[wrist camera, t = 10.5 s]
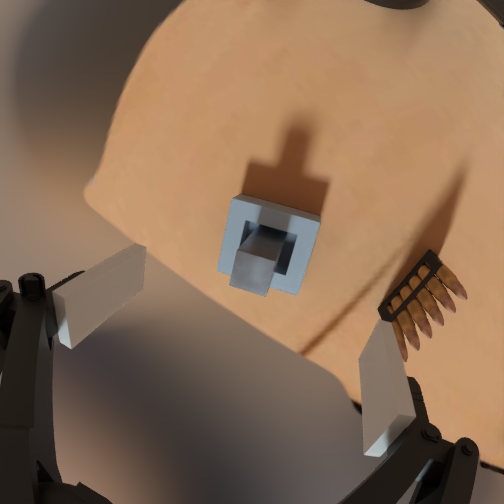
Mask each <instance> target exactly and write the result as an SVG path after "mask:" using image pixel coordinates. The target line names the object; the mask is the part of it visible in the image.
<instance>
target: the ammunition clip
mask: <svg viewBox="0 0 504 504" xmlns="http://www.w3.org/2000/svg"><path fill="white" fill-rule="evenodd" d="M434 274H435V275H436V276H437V277H438V278H439V279H438V278H437V277H436V276H435V275H434ZM442 283H443V284H444V285H445V286H446V287H447V288H449V289H450V290H451V291H452V292H453V293H454V294H455V295H456V296H458V297H459V298H461V299H463V300H467V293H466V291H465V289H464V287H463V286H462V285H461V284H460V282H459V281H458V279H457V277H456V276H455V275H454V274H453V272H452V271H451V270H450V269H449V268H448V267H447V266H446V265H445V264H444V263H443V262H442V261H441V260H440V259H439V257H438V256H437V255H435V254H434V253H433V252H432V251H431V250H428V251H427V252H426V254H425V255H424V256H423V257H422V259H421V260H420V261H419V262H418V264H417V265H416V266H415V267H414V268H413V270H412V271H411V272H410V273H409V274H408V275H407V277H406V278H405V279H404V280H403V281H402V282H401V283H400V285H399V286H398V287H397V288H396V289H395V290H394V291H393V293H392V294H391V295H390V296H389V297H388V298H387V299H386V300H385V301H384V302H383V303H382V305H381V306H380V307H379V308H378V312H379V314H380V317H381V319H382V320H383V321H387V322H391V323H392V326H393V330H394V333H395V336H396V340H397V343H398V346H399V350H400V353H401V357H402V361H403V362H407V359H408V352H407V348H406V344H405V338H404V334H405V335H406V337H407V339H408V341H409V343H410V345H411V346H412V347H413V348H414V349H415V350H417V351H419V349H420V341H419V337H418V335H417V331H416V328H415V323H417V325H418V327H419V328H420V330H421V331H422V333H423V334H424V335H425V336H426V337H427V338H429V339H431V338H432V330H431V326H430V324H429V322H428V319H427V317H426V313H425V311H427V312H428V313H429V315H430V316H431V317H432V319H433V320H434V321H435V322H436V323H437V324H438V325H440V326H443V325H444V319H443V315H442V313H441V311H440V310H439V307H438V306H437V302H436V300H435V299H434V297H435V298H436V299H437V300H438V301H439V302H440V303H441V304H442V305H443V306H444V307H445V308H446V309H447V310H448V311H449V312H451V313H455V312H456V308H455V304H454V302H453V300H452V299H451V297H450V295H449V294H448V292H447V290H446V288H445V287H444V285H443V284H442ZM425 285H426V286H427V287H426V286H425ZM427 288H428V289H429V290H428V289H427ZM432 295H433V296H434V297H433V296H432ZM416 296H417V297H416ZM417 298H418V299H417ZM419 301H420V302H419ZM422 306H423V307H422ZM407 308H408V309H407ZM423 308H424V309H425V311H424V309H423ZM408 310H409V311H408ZM412 318H413V319H412ZM413 320H414V321H415V323H414V321H413ZM403 333H404V334H403Z"/></svg>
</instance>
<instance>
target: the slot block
mask: <svg viewBox="0 0 504 504" xmlns="http://www.w3.org/2000/svg"><path fill="white" fill-rule="evenodd" d="M259 224H261V225H265V226H268V227H272V228H275V229H279V230H282V231H286V232H288V234H287V238H286V241H285V245H284V248H283V252H282V255H281V259H280V261H279V264H278V266H277V269H276V272H275V274H274V277H273V279H272V282H271V284H270V288H274V289H277V290H280V291H284V292H287V293H290V294H294V295H297V296H298V293H299V290H300V287H301V284H302V281H303V278H304V274H305V271H306V268H307V265H308V262H309V259H310V256H311V252H312V249H313V246H314V243H315V239H316V236H317V233H318V229H319V226H320V216H319V215H315V214H312V213H308V212H305V211H302V210H298V209H295V208H291V207H288V206H284V205H280V204H277V203H273V202H269V201H266V200H262V199H258V198H255V197H251V196H247V195H243V194H240V195H238V196H236V197H234V198H232V201H231V206H230V210H229V215H228V220H227V224H226V229H225V234H224V239H223V243H222V248H221V253H220V258H219V263H218V268H217V271H218V272H221V273H225V274H228V275H231V274H232V269H233V265H234V260H235V256H236V251H237V249H238V248H239V247H240V246H241V245H242V244H243V242H244V241H245V240H246V239H247V238H248V237H249V236H250V234H251V233H252V232H253V231H254V230H255V229H256V228H257V227H258V225H259Z"/></svg>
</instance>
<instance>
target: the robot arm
mask: <svg viewBox="0 0 504 504" xmlns="http://www.w3.org/2000/svg"><path fill="white" fill-rule="evenodd" d="M365 1H368V2H370V3H373V4H375V5H379V6H382V7H386V8H392V9H413V8H417V7H420V6H422V5H424V4H425V3H427V2H428V1H429V0H365ZM477 1H478V2H479V3H480V4H481V5H482V6H483V7H484V8H485V9H486V10H487V11H488V12H489V13H490V14H491V15H492V16H493V17H494V18H495V19H496V20H497V21H498V22H499V25H500V26H501V27H502V28H503V29H504V0H477ZM145 257H146V247H145V246H142V245H139V244H136V243H135V244H133V245H131V246H129V247H128V248H126V249H124V250H122V251H120V252H119V253H117V254H115V255H113V256H111V257H110V258H108V259H106V260H104V261H103V262H101V263H99V264H97V265H96V266H94V267H92V268H90V269H89V270H87V271H80V272H76V273H74V274H72V275H70V276H68V278H65V279H63V280H62V281H60V282H58V283H57V284H55V285H53V286H51V287H50V288H48V289H45V280H44V277H43V276H42V275H41V274H39V273H27V274H24V275H22V276H21V277H20V278H19V279H18V283H19V289H20V293H16V292H13V288H12V284H11V282H9V281H7V280H0V375H1V373H2V378H1V384H0V504H112V503H111V502H110V501H109V500H108V499H107V498H105V497H103V496H102V495H100V494H98V493H97V492H95V491H93V490H92V489H90V488H88V487H87V486H85V485H83V484H82V483H81V482H79V483H78V484H77V486H74V485H70V484H66V483H63V482H62V479H61V476H60V473H59V470H58V466H57V461H56V452H55V442H54V428H53V402H52V379H53V353H54V338H53V336H54V335H55V334H56V333H59V339H60V342H61V343H63V344H64V345H66V346H67V347H69V348H70V349H72V348H73V347H75V346H76V345H77V344H78V343H79V342H80V341H81V340H83V339H84V338H85V337H86V336H87V335H89V334H90V333H91V332H92V331H93V330H94V329H96V328H97V327H98V326H99V325H100V324H102V323H103V322H104V321H105V320H106V319H108V318H109V317H110V316H111V315H112V314H113V313H115V312H116V311H117V310H118V309H120V308H121V307H122V306H123V305H124V304H126V303H127V302H128V301H129V300H130V299H132V298H133V297H134V296H135V295H136V294H138V293H139V292H140V291H141V290H143V283H144V269H145ZM2 370H3V372H2ZM359 370H360V383H361V397H362V416H363V446H364V455H369V456H377V457H380V456H381V455H382V454H383V453H384V452H385V451H386V450H387V451H388V457H387V458H386V459H385V460H384V461H383V462H382V463H381V464H380V465H379V466H378V467H377V468H376V469H375V470H374V471H373V472H372V473H371V474H370V475H369V476H368V477H367V478H366V479H365V480H364V481H363V482H362V483H361V484H360V485H358V486H357V487H356V488H355V489H354V490H353V491H352V492H351V493H349V494H348V495H347V496H346V497H345V498H344V499H342V500H341V501H340V502H339V503H338V504H396V503H397V501H398V500H399V499H400V498H401V497H402V496H403V494H404V493H405V492H406V491H407V489H408V488H409V487H410V486H411V484H412V483H413V482H414V481H415V480H416V481H418V483H417V485H416V488H415V490H414V493H413V495H412V497H411V500H410V502H409V504H469V503H470V499H471V495H472V490H473V485H474V480H475V475H476V470H477V464H478V457H479V449H478V447H477V445H476V443H475V442H474V441H473V440H471V439H470V438H466V437H464V438H460V439H459V440H458V441H457V442H456V443H455V444H454V443H451V442H449V441H446V440H444V439H442V436H441V433H440V431H439V429H438V428H437V427H436V426H434V425H433V424H431V423H429V419H428V415H427V411H426V407H425V403H424V402H423V401H424V399H423V396H422V392H421V388H420V385H419V384H418V382H417V381H416V380H415V378H413V377H408V376H406V372H405V368H404V364H403V361H402V357H401V353H400V350H399V346H398V343H397V340H396V336H395V333H394V330H393V326H392V323H391V322H387V321H383V320H380V319H379V320H378V322H377V324H376V326H375V328H374V330H373V332H372V334H371V336H370V338H369V340H368V342H367V344H366V346H365V348H364V349H363V351H362V353H361V355H360V357H359Z"/></svg>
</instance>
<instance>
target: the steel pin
mask: <svg viewBox="0 0 504 504" xmlns="http://www.w3.org/2000/svg"><path fill="white" fill-rule="evenodd" d="M287 234H288V232H286V231H282V230H279V229H275V228H272V227H268V226H265V225H261V224H259V225H258V227H257V228H256V229H255V230H254V231H253V232H252V233H251V234H250V236H249V237H248V238H247V239H246V240H245V241H244V242H243V244H242V245H241V246H240V247H239V248H238V249H237V251H236V256H235V260H234V265H233V269H232V274H231V278H230V283H229V285H230V286H233V287H236V288H240V289H243V290H246V291H249V292H252V293H256V294H259V295H262V296H266V294H267V292H268V289H269V287H270V284H271V282H272V279H273V277H274V274H275V272H276V269H277V266H278V264H279V261H280V259H281V255H282V252H283V248H284V245H285V241H286V238H287Z"/></svg>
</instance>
